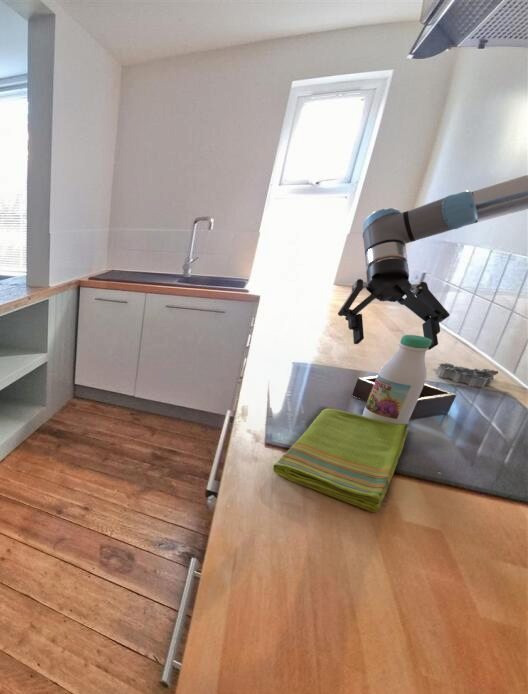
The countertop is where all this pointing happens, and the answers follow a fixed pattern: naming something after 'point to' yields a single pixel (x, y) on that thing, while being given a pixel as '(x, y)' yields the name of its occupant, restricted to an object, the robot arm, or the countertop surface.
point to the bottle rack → (426, 406)
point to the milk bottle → (399, 382)
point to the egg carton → (466, 375)
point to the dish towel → (345, 457)
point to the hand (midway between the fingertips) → (394, 344)
